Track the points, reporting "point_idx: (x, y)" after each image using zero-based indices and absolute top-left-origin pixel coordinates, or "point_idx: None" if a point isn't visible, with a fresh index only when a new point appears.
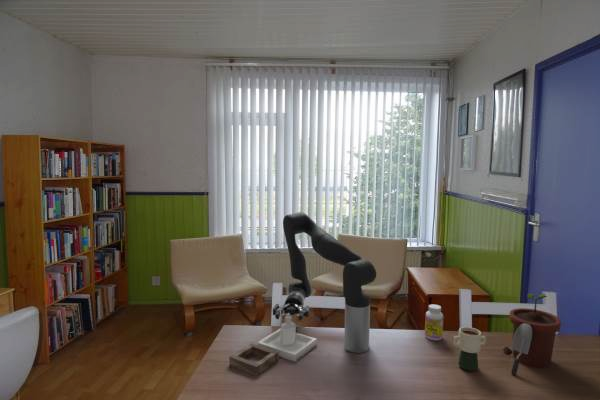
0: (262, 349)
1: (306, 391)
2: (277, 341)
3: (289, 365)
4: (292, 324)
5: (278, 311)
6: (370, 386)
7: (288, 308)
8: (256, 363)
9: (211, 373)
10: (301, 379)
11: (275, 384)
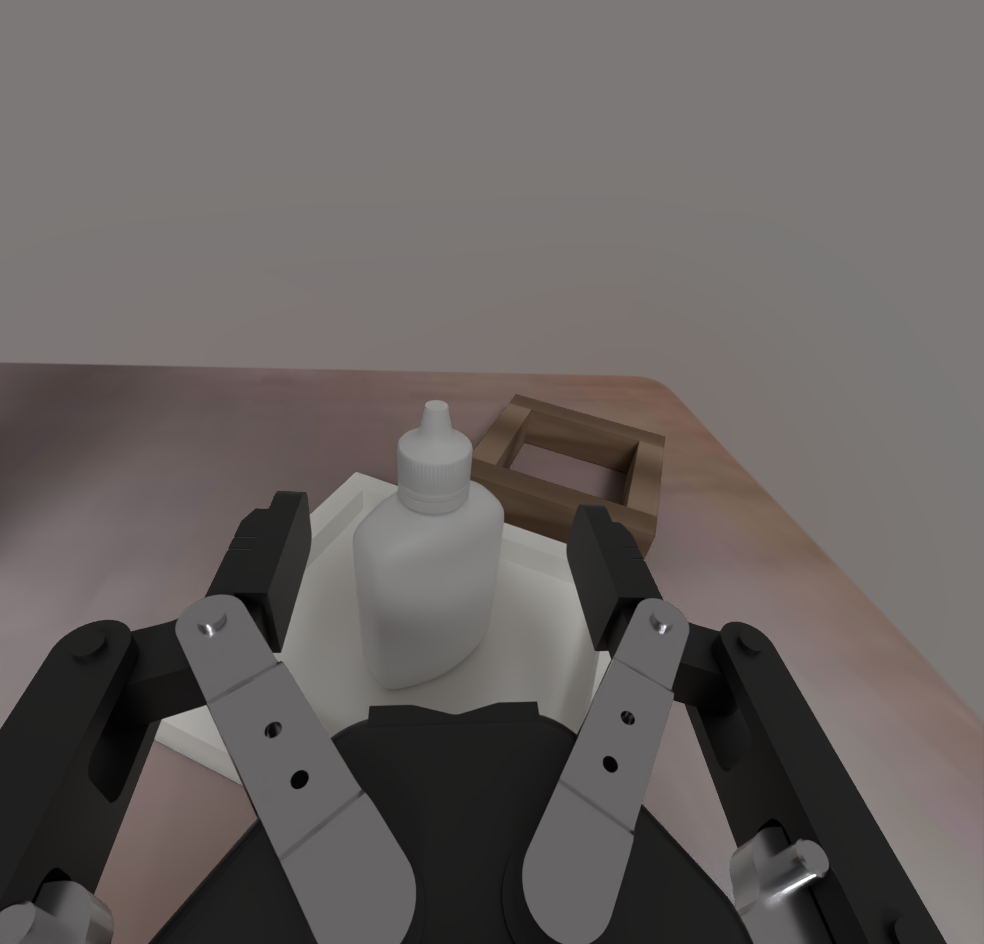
0: (555, 486)
1: (313, 376)
2: (523, 674)
3: (386, 478)
4: (386, 500)
5: (626, 571)
6: (22, 387)
7: (516, 726)
8: (527, 407)
9: (672, 432)
10: (328, 413)
11: (426, 397)
